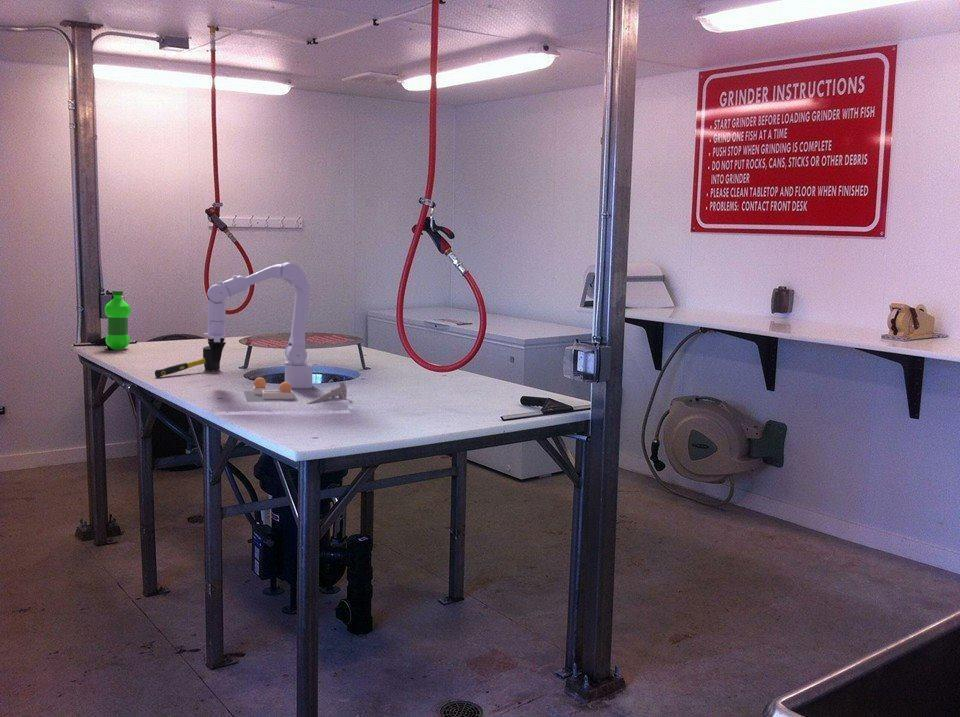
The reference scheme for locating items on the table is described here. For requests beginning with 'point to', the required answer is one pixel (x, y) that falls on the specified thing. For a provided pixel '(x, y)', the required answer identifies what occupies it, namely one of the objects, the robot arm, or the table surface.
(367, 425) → the table surface
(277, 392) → the hollow rectangular frame
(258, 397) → the mat
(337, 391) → the caliper
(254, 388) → the tube
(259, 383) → the ball
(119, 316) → the plastic bottle
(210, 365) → the mallet
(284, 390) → the ball left
